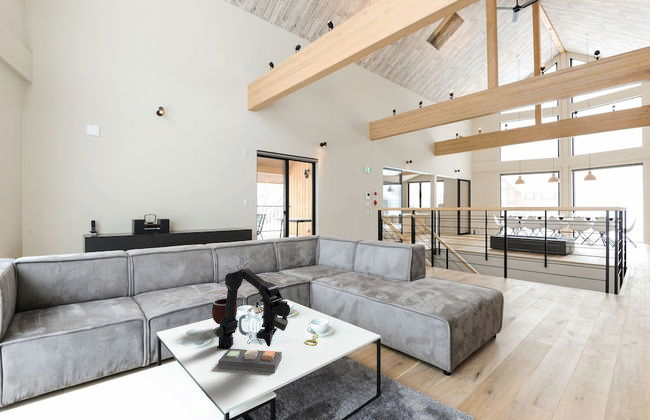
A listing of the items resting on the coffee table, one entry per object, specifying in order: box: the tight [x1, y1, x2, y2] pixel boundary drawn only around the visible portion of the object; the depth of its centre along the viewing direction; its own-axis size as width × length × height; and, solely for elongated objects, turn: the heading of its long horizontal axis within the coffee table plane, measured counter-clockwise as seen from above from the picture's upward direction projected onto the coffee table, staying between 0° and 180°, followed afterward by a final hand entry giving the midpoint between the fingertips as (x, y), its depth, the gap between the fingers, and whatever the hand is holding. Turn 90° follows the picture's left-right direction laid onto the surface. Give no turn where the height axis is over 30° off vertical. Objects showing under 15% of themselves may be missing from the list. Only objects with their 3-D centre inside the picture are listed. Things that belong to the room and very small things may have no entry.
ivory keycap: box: [244, 348, 259, 359], centre depth 143 cm, size 5×5×2 cm
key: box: [304, 333, 319, 347], centre depth 169 cm, size 7×12×2 cm, turn 178°
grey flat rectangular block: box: [217, 347, 283, 374], centre depth 143 cm, size 26×12×4 cm, turn 84°
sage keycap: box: [227, 351, 240, 358], centre depth 144 cm, size 5×5×2 cm
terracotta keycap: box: [263, 350, 276, 361], centre depth 142 cm, size 5×5×2 cm
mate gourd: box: [211, 297, 238, 335], centre depth 181 cm, size 16×14×20 cm
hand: (268, 346), depth 142 cm, fingers closed
